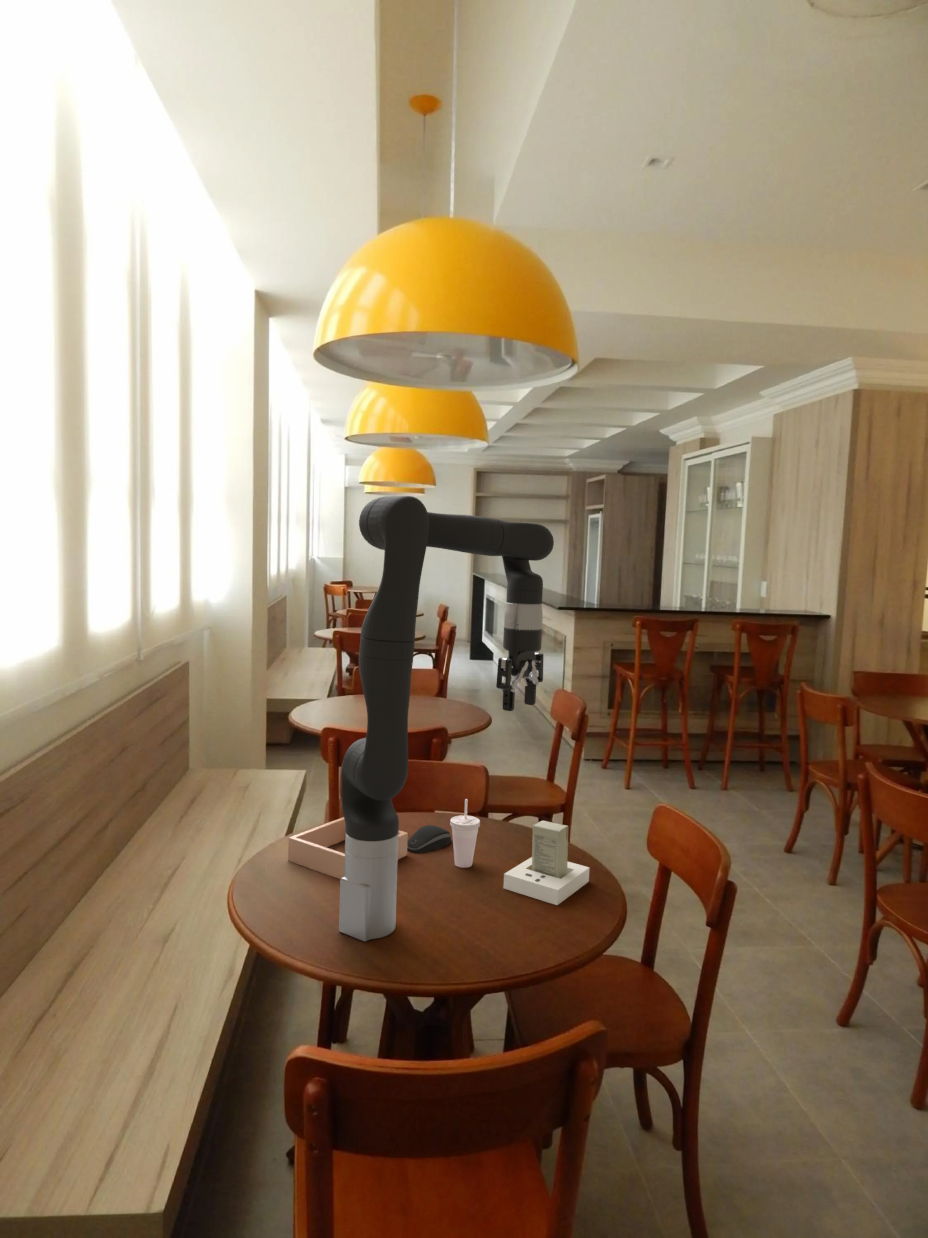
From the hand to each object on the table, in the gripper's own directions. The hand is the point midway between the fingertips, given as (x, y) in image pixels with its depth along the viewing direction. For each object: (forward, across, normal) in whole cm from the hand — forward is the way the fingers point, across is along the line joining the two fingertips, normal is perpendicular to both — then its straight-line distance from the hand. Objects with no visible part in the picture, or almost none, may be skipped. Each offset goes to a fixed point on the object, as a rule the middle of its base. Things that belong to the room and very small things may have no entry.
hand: (519, 707), depth 157 cm
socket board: (+36, +4, -6) cm, 37 cm away
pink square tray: (+36, -11, +34) cm, 51 cm away
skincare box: (+36, +5, -6) cm, 37 cm away
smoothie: (+36, +2, +13) cm, 39 cm away
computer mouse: (+37, +6, +26) cm, 45 cm away
